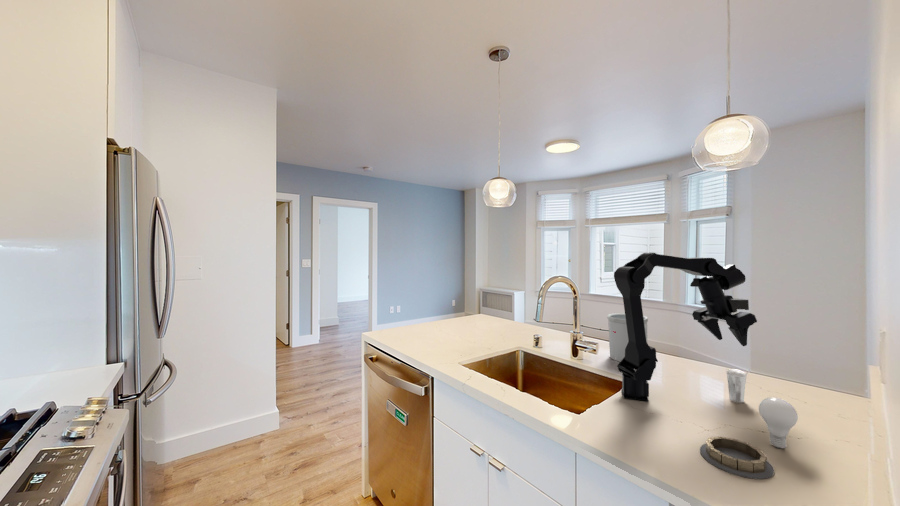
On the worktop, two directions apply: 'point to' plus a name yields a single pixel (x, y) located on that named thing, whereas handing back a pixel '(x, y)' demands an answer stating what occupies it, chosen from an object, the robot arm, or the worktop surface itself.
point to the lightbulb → (778, 419)
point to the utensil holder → (619, 335)
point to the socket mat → (738, 455)
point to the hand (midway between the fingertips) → (732, 342)
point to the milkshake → (736, 384)
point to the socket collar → (733, 463)
